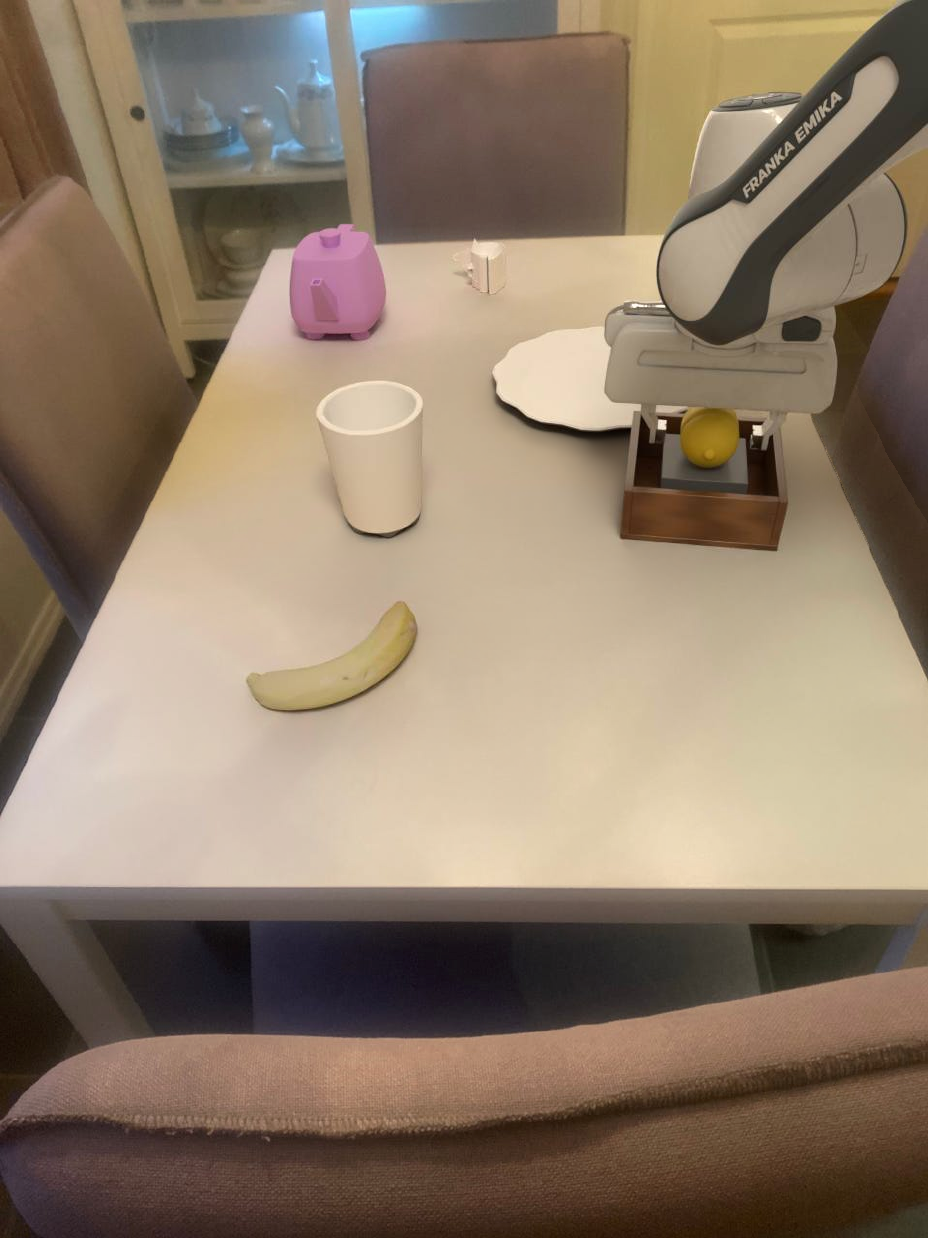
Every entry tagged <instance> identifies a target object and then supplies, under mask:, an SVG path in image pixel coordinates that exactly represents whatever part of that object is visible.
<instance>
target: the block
mask: <svg viewBox="0 0 928 1238" xmlns="http://www.w3.org/2000/svg"><path fill="white" fill-rule="evenodd" d="M659 488H661V489H675V490H689V491H703V492H718V493H732V494H746V493H747V488H748V469H747V450H746V439H744V438H739V443H738V447H737V449H736V451H735V453H734V454H733V456H732V457H731V458H730V459H729V460H728V461H727V462H725V463H724V464H722V465H720V466H717V467H712V468H704V467H700V466H697V465H695V464H693V463H692V462H690V461H689V460H688V459H687V458H686V456H685V455H684V453H683V451H682V449H681V444H680V435H677V434H666V435H665V443H664V444H663V449H662V458H661V466H660V478H659Z"/></svg>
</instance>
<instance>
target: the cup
mask: <svg viewBox="0 0 928 1238" xmlns="http://www.w3.org/2000/svg"><path fill="white" fill-rule="evenodd" d="M423 411H424V403H423V397H422V396H421V395H420V393H419V392H417V391H416V390H415V389H413V388H412V387H410V386H408V385H405V384H402V383H399V382H395V381H390V380H367V381H360V382H359V381H358V382H356V383H350V384H347V385H344V386H342V387H337V389H335V390H334V391H332V392H329V394H327V395H326V396H325V397H324V398H323V399H321V400H320V402H319V404H318V406H317V407H316V413H315V417H316V420H317V421H316V422H317V424H318V427H319V431H320V434H321V438H322V441H323V446H324V449H325V452H326V455H327V458H328V459H327V460H328V463H329V465H330V469H331V473H332V476H333V480H334V483H335V485H336V486H335V487H336V490H337V493H338V497H339V500H340V503H341V507H342V511H343V514H344V517H345V519H346V521H347V522H348V524H349V526H350V527H351V528H352V530H353V531H355V533H357V534H366V533H368V534H373V535H374V534H375V535H379V536H381V537H384V538H388V539H389V538H393V537H394V536H395V535H397V534H398V533H399V532H401V531H403V529H405V528H407V527H409V526H412V525H415V524H417V523H418V521H419V519H420V516H421V510H422V482H423V481H422V478H423V477H422V475H423V472H422V471H423V470H422V469H423V464H422V463H423V422H424V421H423V417H424V415H423V414H424V412H423Z"/></svg>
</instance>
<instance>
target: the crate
mask: <svg viewBox="0 0 928 1238" xmlns="http://www.w3.org/2000/svg"><path fill="white" fill-rule="evenodd" d="M655 414H656V416H657V418H658V420H667V424H666V434H677V435H680V429H681V422H682V419H683V417H684V415H685V413H662V412H655ZM737 418H738V423H739V438H744V439H746V450H747V469H748V488H747V493H746V494H732V493H718V492H703V491H689V490H675V489H661V488H659V478H660V466H661V458H662V449H663V444H655V443H649V440H650V429H649V427H648V425H647V423H646V422H645V420H644V418H643V416H642V415H641V411H633V420H632V429H630V438H629V445H628V446H629V447H628V456H627V464H626V472H625V479H624V481H625V482H624V489H623V499H622V512H621V525H620V534H619V535H620V536H619V538H620V539H623V540H633V541H634V540H635V541H647V542H648V541H649V542H658V543H659V542H661V543H673V544H686V545H699V546H711V547H722V548H734V549H735V548H736V549H750V550H759V551H760V550H761V551H772V552H777V551H778V548H779V543H780V540H781V535H782V532H783V527H784V523H785V519H786V514H787V511H788V506H789V497H788V496H789V495H788V485H787V477H786V476H787V475H786V468H785V460H784V449H783V441H782V440H783V439H782V431H781V426H780V427H779V428H778V429H777V430H776V431H775V432H774V433H773V434H772V435H771V436H769V440H768V445H767V449H766V450H754V449H750V437H751V435H752V427H753V425H758V426H762V424H763V423H764V422H765V421H766V419H767V418H768V417H765V418H764V417H750V416H737Z"/></svg>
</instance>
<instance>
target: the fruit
mask: <svg viewBox="0 0 928 1238" xmlns="http://www.w3.org/2000/svg"><path fill="white" fill-rule="evenodd" d="M417 632H418V624H417V620H416V617H415V615H414V613H413V612H412V611H411V609H410V607H409V606H408V604H407V603H406V602H405V601H404V600H398V601H396V602H394V603H393V605H392V606H391V607H389V609H387V610H386V611H385V613H384V614H383V615H382V617H381V618H380V619H379V621H378V623H377V624H376V626H375V627H374V629H373V630H372V632H371V633H370V634H368V636H367V637H365V639H363V641H362V642H360V643H359V644H357V645H356V646H355V647H354V648H352V649H350V650H349V651H347V652H345V653H344V654H342V655H339V656H338V657H335V658H332V659H331V660H327V661H324V662H322V663H318V664H316V665H311V666H307V667H300V668H294V669H284V670H275V671H273V670H272V671H269V672H265V673H262V674H259V673H257V672H251V673H249V675H247V677H246V679H245V682H246V684H247V685H248V687H249V688H250V690H251V693H252V695H253V696H254V698H255V699H256V700H257V702H258V703H259V704H260V705H262V706H263V707H265V708H267V709H272V710H278V711H299V710H309V709H316V708H321V707H326V706H329V705H333V704H337V703H340V702H342V701H345V700H348V699H350V698H352V697H354V696H357V695H358V694H360V693H362V692H364V691H366V690H367V689H369V688H370V687H372V686H374V685H376V684H377V683H379V682H380V681H381V680H382V679H384V678H386V676H388V675H389V674H390V673H391V672H392V671H393V670H395V669H396V668H397V667H398V666H399V665H400V663H402V661H403V660H404V659H405V657H406V656H407V654H408V653H409V652H410V650H411V648H412V646H413V645H414V642H415V639H416V636H417V634H418V633H417Z"/></svg>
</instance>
